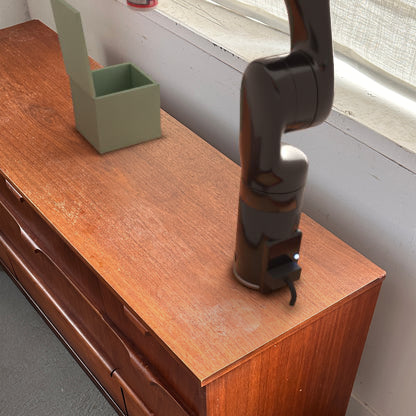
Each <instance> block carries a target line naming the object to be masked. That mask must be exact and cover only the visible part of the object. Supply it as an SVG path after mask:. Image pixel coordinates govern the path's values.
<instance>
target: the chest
mask: <svg viewBox="0 0 416 416" xmlns="http://www.w3.org/2000/svg"><path fill="white" fill-rule="evenodd" d="M91 73H92V78H93V83H94V89H95V94H96V97H94V98H92V97H91V96H90V95H89V94H88V93H87V92H86V91H84V90H83V89H82V88H81V87H80V86H79V85H78V84H77V83H76V82H75V81H74V80H73V79H72V78H71V77H70V76H69V75H68V79H69V87H70V94H71V101H72V102H71V103H72V107H73V108H72V109H73V117H74V124H75V129H76V130H77V132H79V133H80V134H81V136H83V137H84V139H85V140H86V141H87V142H88V143H89V144H90V145H91V146H92V147H93V148H94V149H95V150H96V151H97V152H98V153H99V154H100V155H102V154H107V153H110V152H113V151H117V150H121V149H123V148H128V147H131V146H134V145H137V144H141V143H145V142H149V141H153V140H156V139H160V138H162V123H161V122H162V120H161V119H162V117H161V116H162V113H161V84H160V83H159V82H158V81H156V79H154V78H153V77H152V76H151V75H149V74H148V73H147V72H145V71H144V70H143V68H140V67H139V66H138V65H137V64H135V62H133V61H132V60H131V61H126V62H122V63H118V64H112V65H109V66H105V67H99V68H96V69H91Z"/></svg>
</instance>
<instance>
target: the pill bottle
mask: <svg viewBox="0 0 416 416" xmlns="http://www.w3.org/2000/svg"><path fill="white" fill-rule="evenodd" d="M158 6H159V0H126V7H127V8H128V9H129V10H132V11H135V12H142V13H144V12H152V11H154V10H156V9H158Z"/></svg>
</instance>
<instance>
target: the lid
mask: <svg viewBox="0 0 416 416" xmlns="http://www.w3.org/2000/svg"><path fill="white" fill-rule="evenodd" d="M49 1H50V7H51V10H52V11H51V12H52V15H53V19H54V20H53V21H54V24H55V28H56V33H57V38H58V42H59V46H60V51H61V56H62V59H63V64H64V68H65V69H64V70H65V73H66V75H67V76H68V77H69V76H70V77H71V78H72V79H73V80H74V81H75V82H76V83H77V84H78V85H79V86H80V87H81V88H82V89H83V90H84V91H86V92H87V93H88V94H89V95H90V96H91V97H92V98H94V97H96V94H95V89H94V83H93V78H92V73H91V70H92V69H91V63H90V58H89V54H88V53H89V52H88V48H87V42H86V38H85V31H84V27H83V22H82V16H81V12H80V11H78V10H77V9H76V8H75V7H74V6H72V4H71V3H69V2H67V1H66V0H49Z"/></svg>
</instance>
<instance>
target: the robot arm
mask: <svg viewBox="0 0 416 416" xmlns="http://www.w3.org/2000/svg"><path fill="white" fill-rule="evenodd" d="M283 2H284V6H285V10H286V14H287V21H288V28H289V42H290V43H289V44H290V45H289V47H290V49H289V51H287V52H283V53H278V54H272V55H268V56H262V57H259V58H255V59H253V60H251V61H250V62H248V64H247V65H246V66H245V69H244V71H243V73H242V77H241V81H240V90H239V129H238V130H239V131H238V132H239V133H238V134H239V135H238V149H239V158H240V178H239V191H238V204H237V205H238V206H237V216H236V217H237V219H236V231H235V234H236V235H235V244H234V252H233V256H234V259H233V261H232V262H233V264H232V266H233V267H232V273H233V276H234V278H235V279H236V280H237V282H239V283H240V284H241V285H242V286H245V287H246V288H248V289H252V290H255V291H258V292H260V293H261V294H262V295H266V294H268V293H270V292H273V291H276V290H279V289H281V288H283V287H285V286H287V288H288V291H289V294H290V300H289V302H288V306H289V307H294V306H295V305H296V302H297V299H298V293H297V290H296V287H295V285H294V283H295V282H296V281H299V280H300V279H301V274H302V269H303V268H302V266H300V265H299V264H298V263H299V257H300V252H301V246H302V241H303V231H302V230H301V229H300V223H301V217H302V210H303V205H304V204H303V203H304V198H305V192H306V186H307V180H308V176H309V175H308V174H309V168H310V167H309V165H310V162H309V159H308V157H307V155H306V153H304V151H302V150H301V149H299V148H298V147H296V146H295V145H292V144H291V143H287V142H284V141H282V137H283V135H286V134H291V133H295V132H298V131H304V130H308V129H310V128H314V127H317V126H320V125H323V123H325V122H326V121H327V120H328V118H329V116H330V115H331V112H332V110H333V106H334V101H335V94H336V93H335V90H336V69H335V54H334V40H333V39H334V38H333V25H332V24H333V23H332V12H331V11H332V10H331V9H332V8H331V0H283Z"/></svg>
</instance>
